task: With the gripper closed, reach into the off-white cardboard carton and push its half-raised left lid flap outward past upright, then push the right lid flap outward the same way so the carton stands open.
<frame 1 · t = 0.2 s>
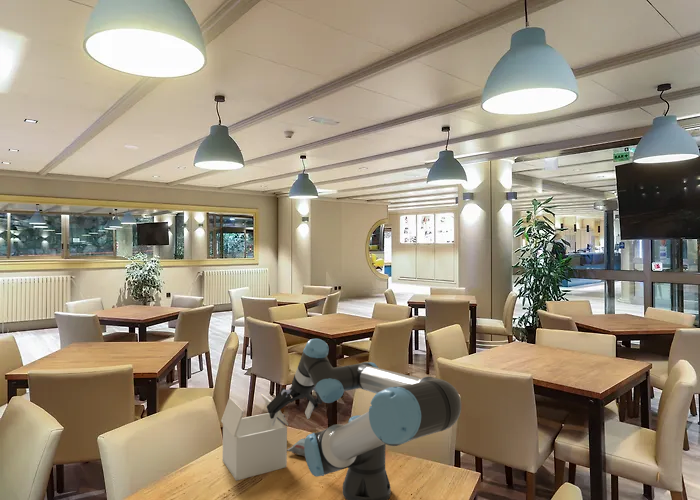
hand: (289, 419, 155), 16 cm above the table, fingers open, 13 cm apart
packaged food: (306, 455, 163), on the table
purple green package: (272, 440, 175), on the table
flap left: (232, 416, 151), point 18 cm above the table, hinge at 70.0°
flap right: (274, 409, 159), point 18 cm above the table, hinge at 60.0°
carton: (254, 463, 155), on the table
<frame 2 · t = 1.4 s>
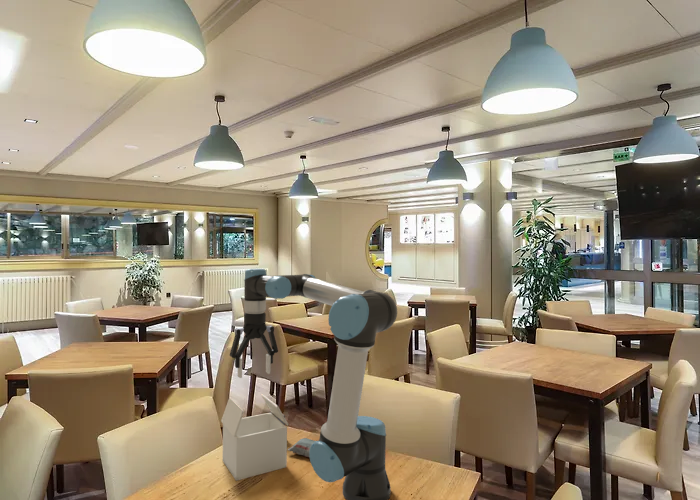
hand: (254, 374, 155), 32 cm above the table, fingers open, 10 cm apart
nothing on the table moved.
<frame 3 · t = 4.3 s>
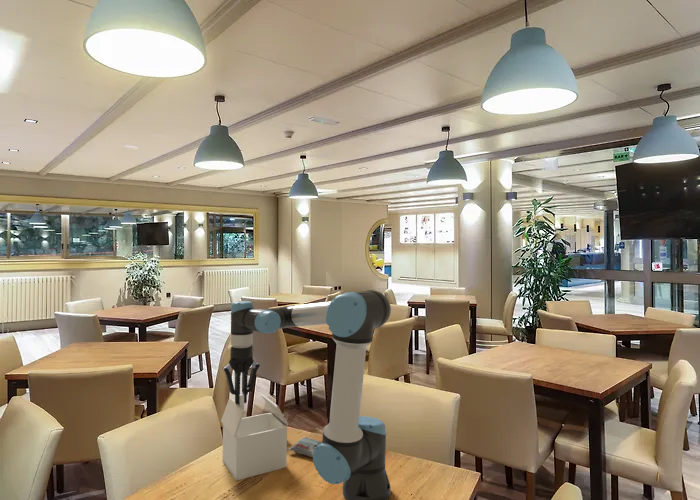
hand: (240, 412, 153), 19 cm above the table, fingers closed
flap left: (232, 416, 151), point 18 cm above the table, hinge at 70.0°, touching gripper
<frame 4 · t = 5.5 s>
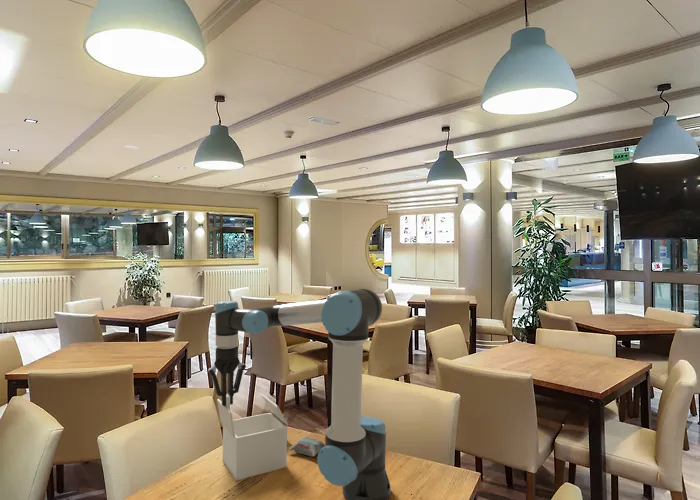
hand: (227, 414, 150), 19 cm above the table, fingers closed
flap left: (225, 417, 150), point 18 cm above the table, hinge at 99.7°, touching gripper
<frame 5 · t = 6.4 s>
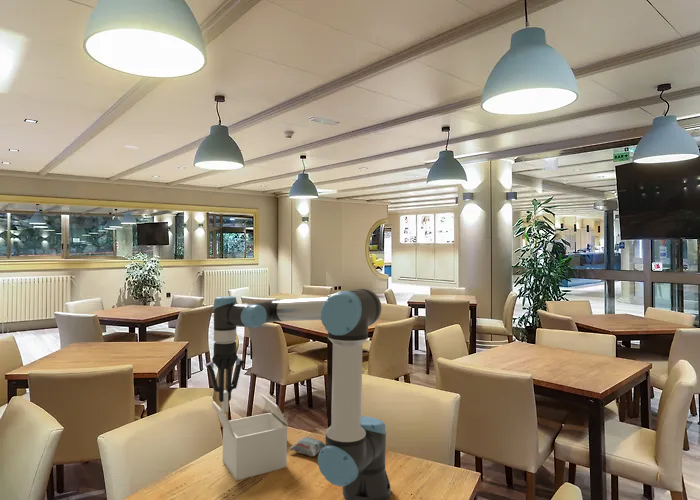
hand: (224, 410, 149), 21 cm above the table, fingers closed
flap left: (223, 418, 149), point 18 cm above the table, hinge at 111.5°
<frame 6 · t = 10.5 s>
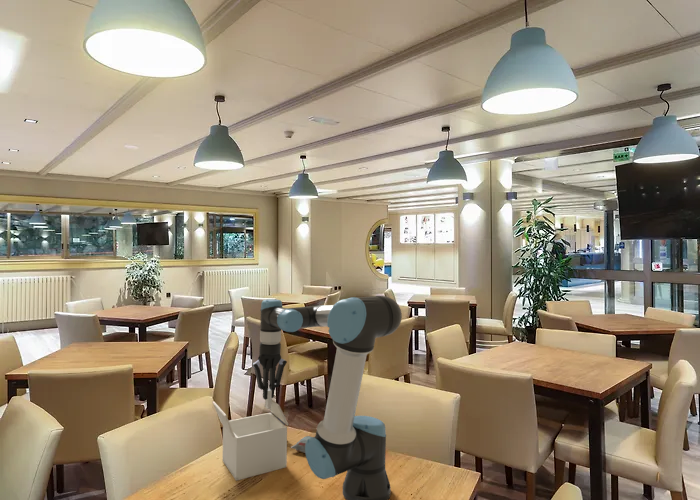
hand: (267, 407, 158), 19 cm above the table, fingers closed
flap right: (275, 408, 159), point 18 cm above the table, hinge at 63.5°, touching gripper
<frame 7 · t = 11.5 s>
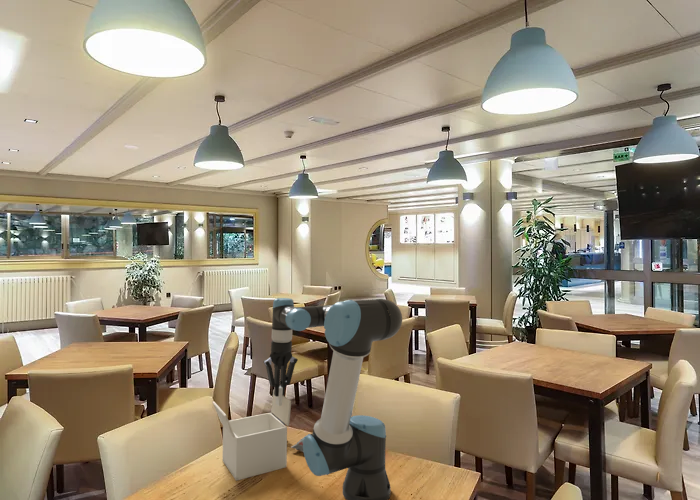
hand: (278, 404, 160), 19 cm above the table, fingers closed
flap right: (280, 406, 161), point 19 cm above the table, hinge at 95.2°, touching gripper
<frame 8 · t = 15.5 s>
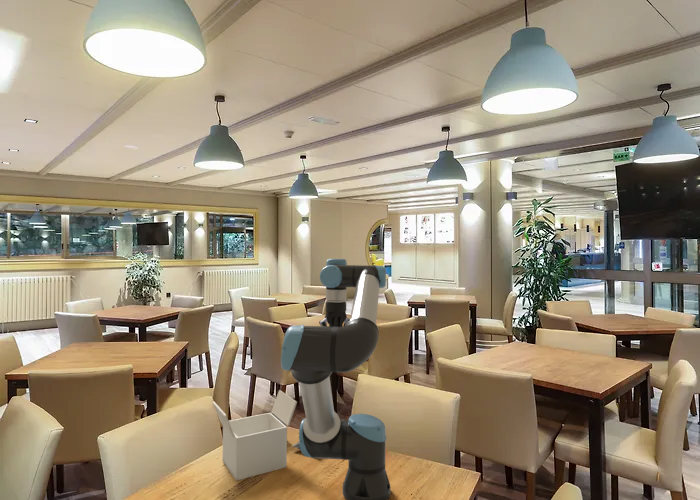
hand: (335, 365, 159), 34 cm above the table, fingers closed
flap right: (283, 407, 161), point 18 cm above the table, hinge at 111.5°
at the end: flap left at +112° (first picture: +70°); flap right at +112° (first picture: +60°) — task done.
